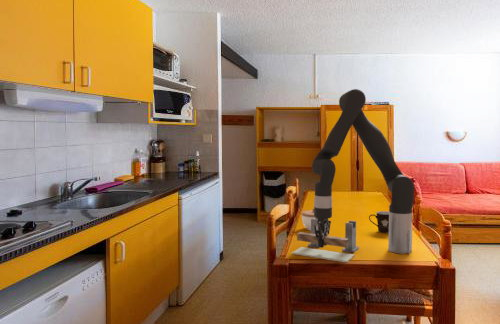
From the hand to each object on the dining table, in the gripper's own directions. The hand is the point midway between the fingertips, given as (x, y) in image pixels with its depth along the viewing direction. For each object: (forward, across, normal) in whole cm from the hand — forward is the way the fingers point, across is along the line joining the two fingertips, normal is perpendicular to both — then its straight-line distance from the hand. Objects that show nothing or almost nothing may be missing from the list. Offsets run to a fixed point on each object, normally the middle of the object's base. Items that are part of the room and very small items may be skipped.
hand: (322, 246), depth 176 cm
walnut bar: (-1, 0, 0) cm, 1 cm away
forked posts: (+4, +13, 0) cm, 13 cm away
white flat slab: (+4, 0, 0) cm, 4 cm away
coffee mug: (+4, +55, -12) cm, 56 cm away
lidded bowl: (+4, +42, +21) cm, 47 cm away
